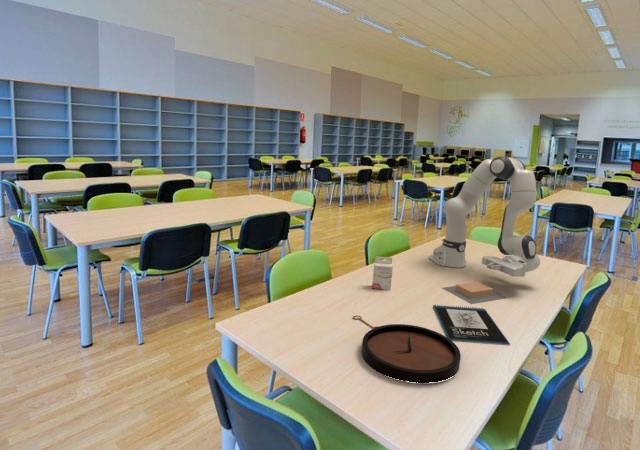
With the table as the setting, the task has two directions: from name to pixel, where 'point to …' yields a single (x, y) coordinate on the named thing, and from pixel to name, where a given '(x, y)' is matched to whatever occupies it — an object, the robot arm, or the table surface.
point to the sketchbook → (469, 325)
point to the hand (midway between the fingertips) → (489, 267)
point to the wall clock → (410, 353)
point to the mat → (475, 300)
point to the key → (363, 321)
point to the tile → (474, 289)
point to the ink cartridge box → (382, 273)
